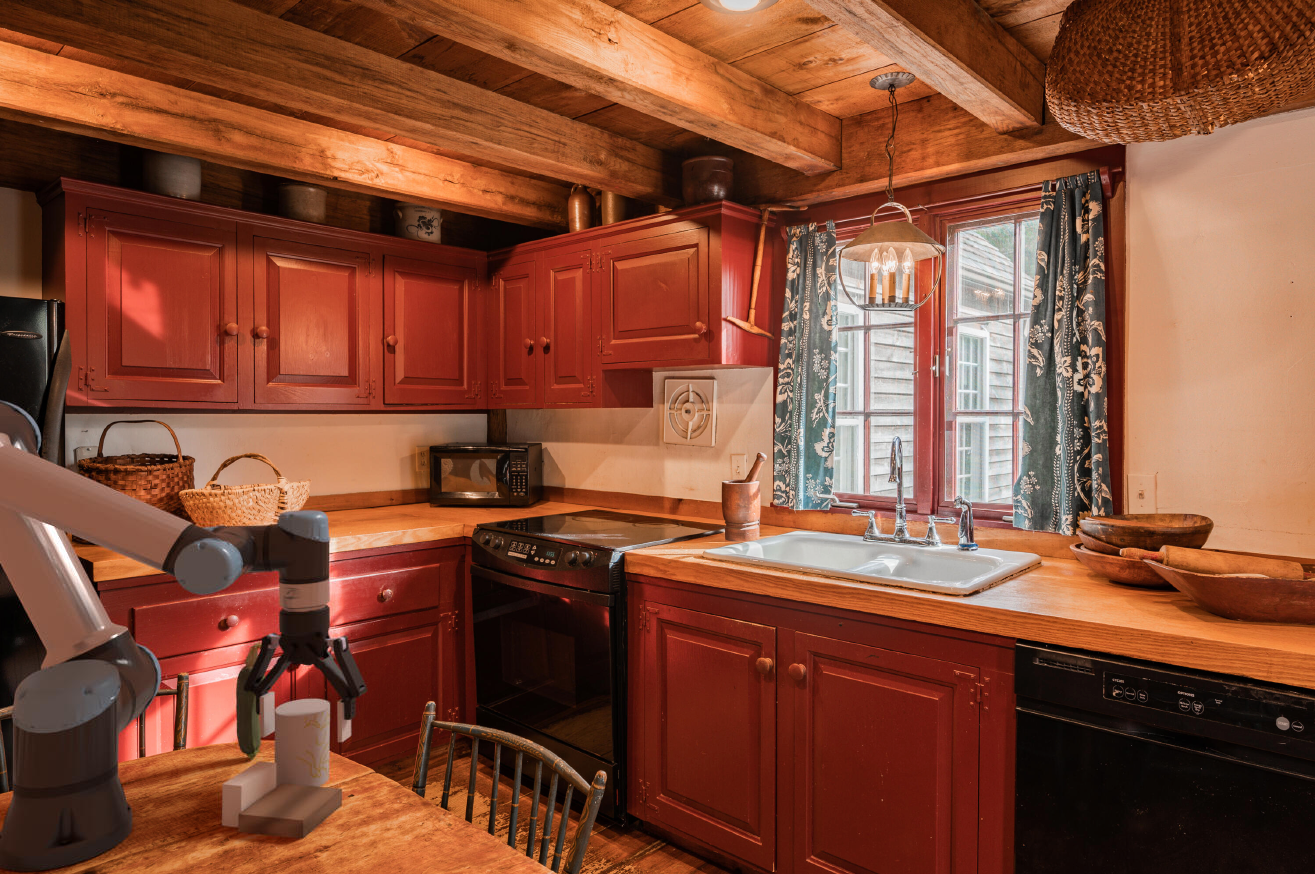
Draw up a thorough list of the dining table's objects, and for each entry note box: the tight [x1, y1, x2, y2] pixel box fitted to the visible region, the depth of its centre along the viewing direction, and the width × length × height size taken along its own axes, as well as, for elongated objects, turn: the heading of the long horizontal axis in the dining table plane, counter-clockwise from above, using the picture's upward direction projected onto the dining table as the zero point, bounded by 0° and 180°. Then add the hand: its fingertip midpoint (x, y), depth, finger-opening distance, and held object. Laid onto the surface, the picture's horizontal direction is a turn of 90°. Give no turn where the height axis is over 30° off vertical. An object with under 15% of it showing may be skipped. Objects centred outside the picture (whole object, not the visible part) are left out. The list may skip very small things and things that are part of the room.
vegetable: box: [235, 641, 266, 761], centre depth 138 cm, size 4×4×20 cm
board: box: [237, 783, 343, 840], centre depth 117 cm, size 10×10×3 cm
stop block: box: [221, 761, 276, 828], centre depth 118 cm, size 3×8×6 cm, turn 171°
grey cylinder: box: [274, 698, 331, 787], centre depth 130 cm, size 8×8×12 cm
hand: (305, 736), depth 130 cm, fingers open, 13 cm apart
